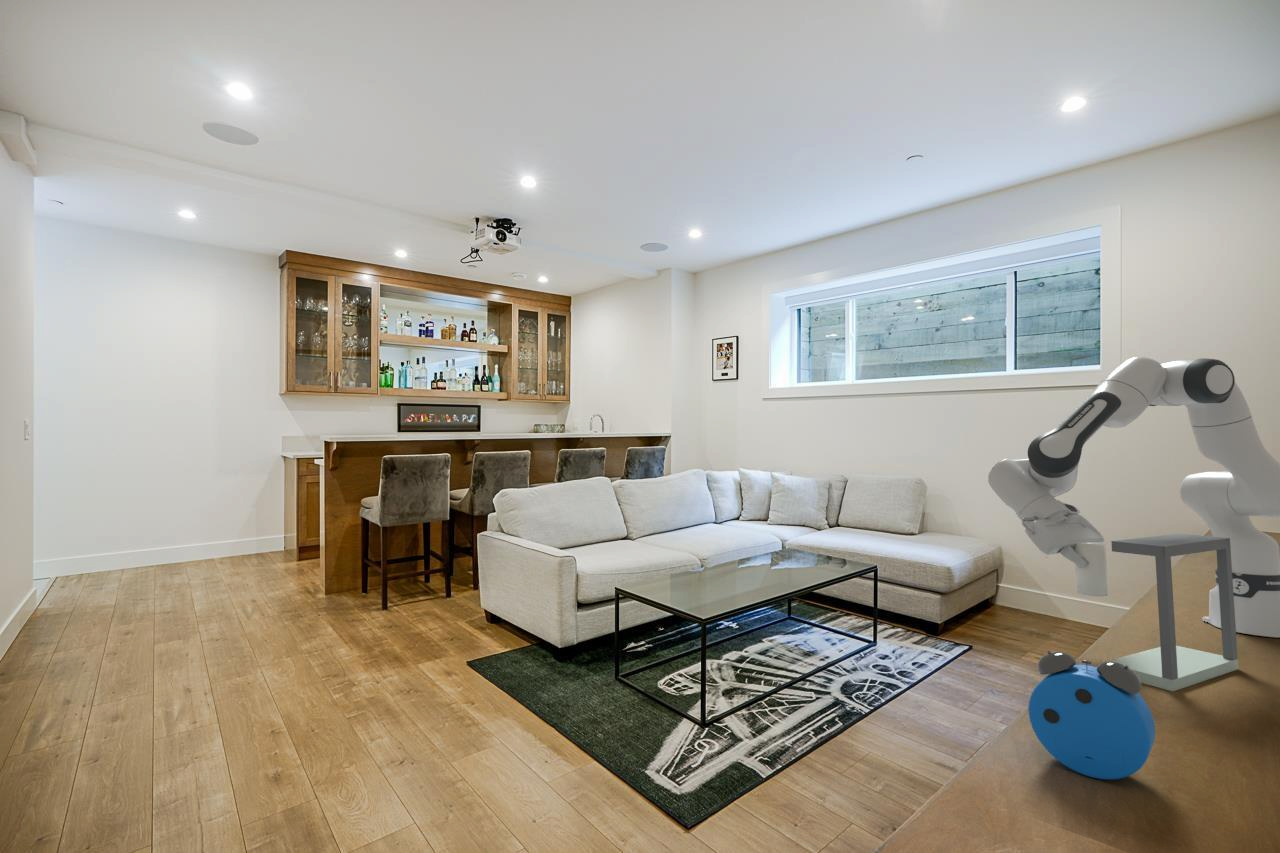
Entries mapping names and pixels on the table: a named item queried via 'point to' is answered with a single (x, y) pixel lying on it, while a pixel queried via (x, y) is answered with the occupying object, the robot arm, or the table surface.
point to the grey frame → (1170, 661)
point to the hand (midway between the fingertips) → (1093, 564)
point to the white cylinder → (1092, 569)
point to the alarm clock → (1092, 716)
